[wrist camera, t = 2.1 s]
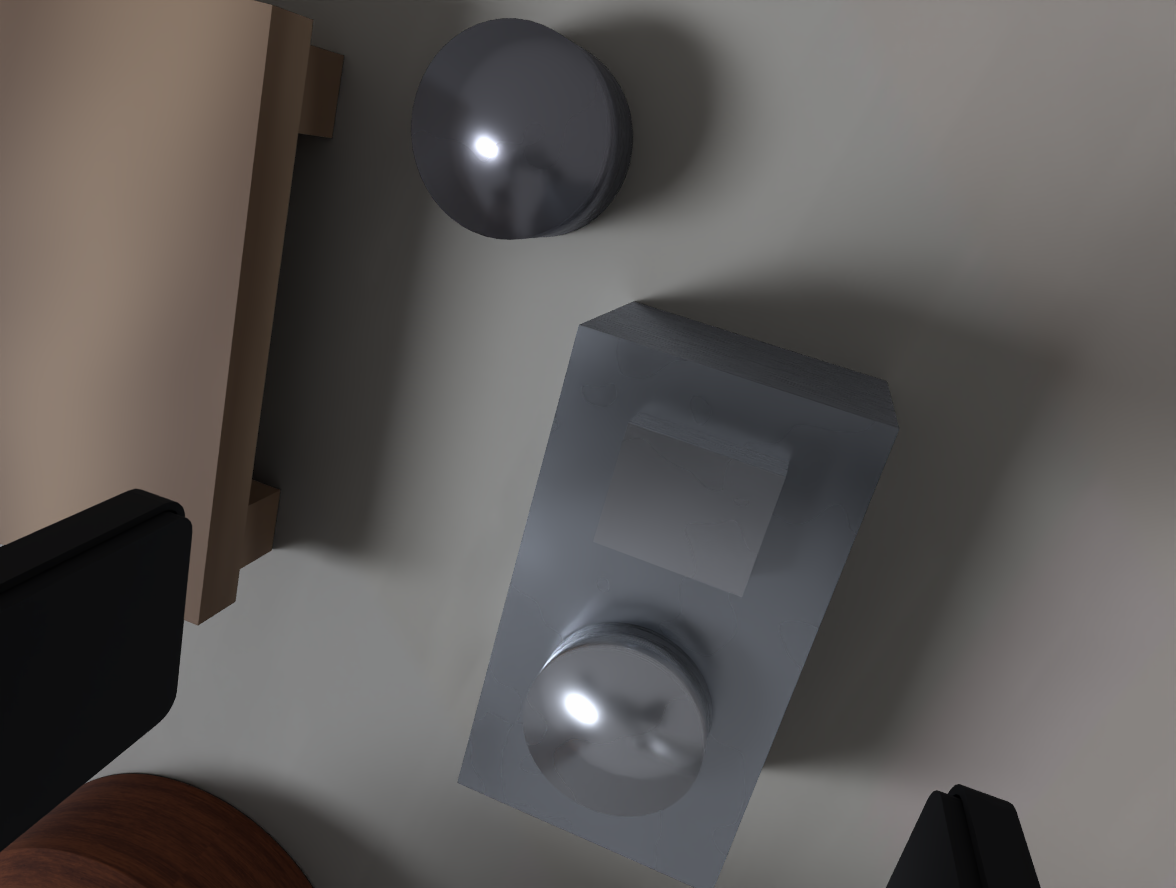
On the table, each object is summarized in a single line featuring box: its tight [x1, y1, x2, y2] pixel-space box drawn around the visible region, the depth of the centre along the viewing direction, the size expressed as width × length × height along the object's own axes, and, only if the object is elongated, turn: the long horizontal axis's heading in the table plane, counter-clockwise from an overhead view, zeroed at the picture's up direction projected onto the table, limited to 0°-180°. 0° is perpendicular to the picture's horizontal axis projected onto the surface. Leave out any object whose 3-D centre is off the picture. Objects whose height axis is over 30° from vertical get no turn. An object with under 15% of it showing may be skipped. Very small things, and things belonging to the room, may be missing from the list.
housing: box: [457, 301, 899, 888], centre depth 16 cm, size 5×9×5 cm, turn 164°
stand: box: [0, 0, 344, 625], centre depth 19 cm, size 12×12×3 cm
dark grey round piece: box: [411, 18, 633, 240], centre depth 16 cm, size 4×4×2 cm
